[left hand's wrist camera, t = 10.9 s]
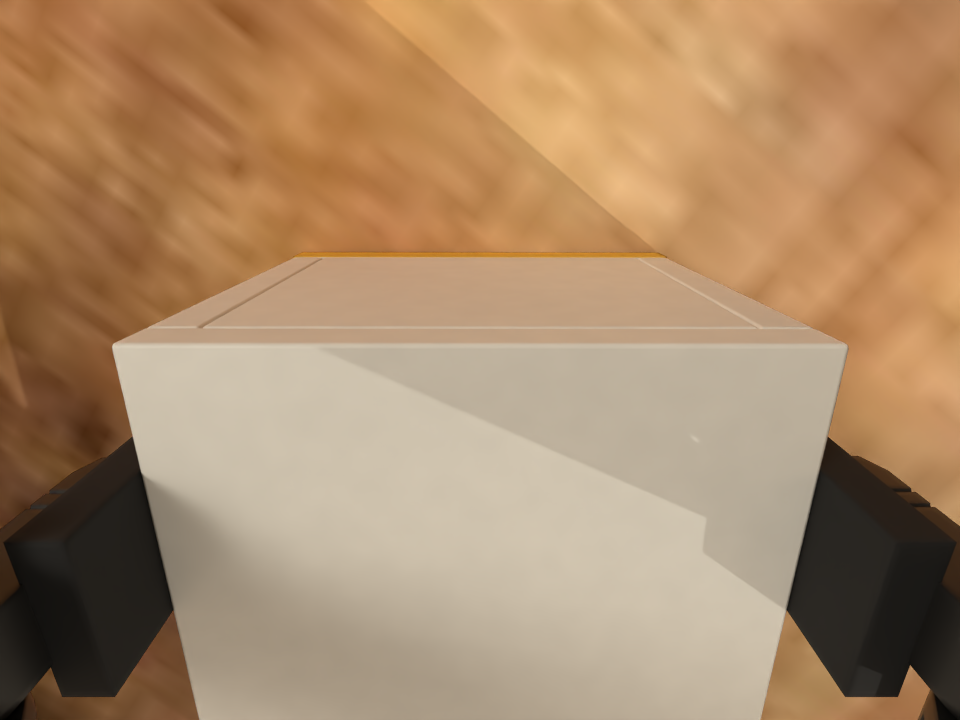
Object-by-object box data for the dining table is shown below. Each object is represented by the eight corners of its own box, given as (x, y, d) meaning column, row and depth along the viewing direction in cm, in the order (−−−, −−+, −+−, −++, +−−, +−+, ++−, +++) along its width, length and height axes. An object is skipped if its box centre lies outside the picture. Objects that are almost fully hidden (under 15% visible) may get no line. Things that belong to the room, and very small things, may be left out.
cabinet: (616, 636, 21) (707, 950, 12) (343, 637, 21) (251, 950, 12) (657, 252, 16) (852, 343, 8) (302, 252, 16) (107, 342, 8)
